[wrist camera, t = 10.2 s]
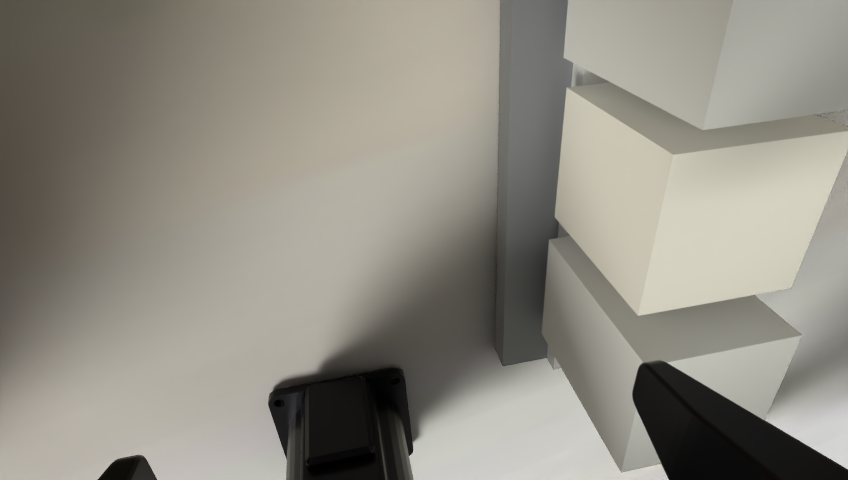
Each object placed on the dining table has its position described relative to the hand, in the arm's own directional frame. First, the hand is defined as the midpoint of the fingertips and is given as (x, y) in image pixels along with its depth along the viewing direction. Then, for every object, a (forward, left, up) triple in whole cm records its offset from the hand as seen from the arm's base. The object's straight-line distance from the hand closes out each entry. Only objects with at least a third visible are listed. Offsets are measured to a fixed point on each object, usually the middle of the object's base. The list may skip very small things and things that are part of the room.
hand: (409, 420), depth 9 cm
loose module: (0, -10, -10) cm, 14 cm away
